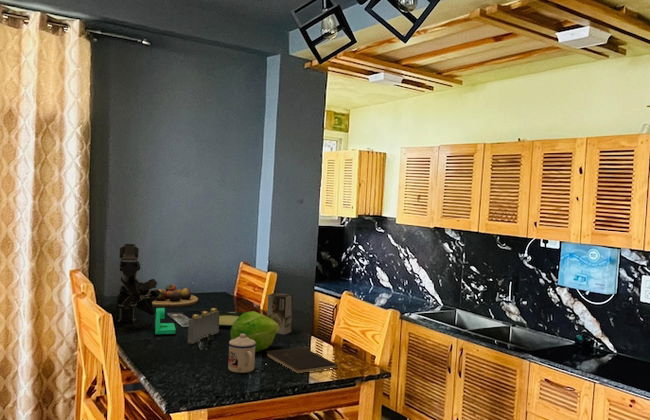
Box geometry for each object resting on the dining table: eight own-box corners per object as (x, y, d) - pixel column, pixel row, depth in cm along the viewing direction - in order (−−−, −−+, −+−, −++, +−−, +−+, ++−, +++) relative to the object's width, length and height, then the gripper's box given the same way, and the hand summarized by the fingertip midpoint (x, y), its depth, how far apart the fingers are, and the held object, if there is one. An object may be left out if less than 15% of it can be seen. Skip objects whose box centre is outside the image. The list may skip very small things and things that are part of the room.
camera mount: (175, 336, 221) (176, 310, 221) (155, 337, 219) (156, 311, 219) (173, 329, 233) (174, 304, 233) (154, 329, 230) (155, 305, 230)
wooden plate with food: (151, 295, 307) (152, 280, 307) (206, 299, 303) (207, 284, 303) (123, 305, 276) (124, 288, 276) (184, 310, 271) (184, 293, 271)
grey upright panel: (193, 343, 211) (194, 316, 211) (187, 343, 212) (188, 315, 212) (218, 332, 230) (219, 307, 230) (213, 331, 231) (214, 307, 231)
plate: (271, 321, 257) (271, 316, 257) (237, 333, 231) (237, 327, 231) (221, 313, 268) (221, 308, 268) (183, 324, 243) (184, 318, 243)
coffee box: (291, 332, 238) (293, 294, 238) (284, 335, 232) (286, 296, 232) (273, 328, 242) (275, 292, 241) (265, 331, 236) (267, 294, 236)
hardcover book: (296, 376, 181) (297, 369, 181) (265, 357, 200) (266, 351, 200) (337, 370, 189) (337, 363, 189) (303, 352, 209) (304, 346, 209)
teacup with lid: (222, 366, 185) (224, 332, 185) (247, 363, 190) (249, 329, 190) (237, 377, 175) (239, 341, 175) (263, 373, 180) (265, 338, 180)
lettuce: (287, 350, 209) (290, 319, 205) (240, 365, 198) (241, 332, 193) (268, 332, 220) (270, 302, 216) (222, 346, 209) (223, 314, 205)
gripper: (130, 275, 220) (152, 306, 217) (158, 270, 238) (179, 298, 235) (112, 293, 223) (134, 323, 220) (142, 287, 241) (162, 315, 237)
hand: (153, 314), depth 228 cm, fingers closed
